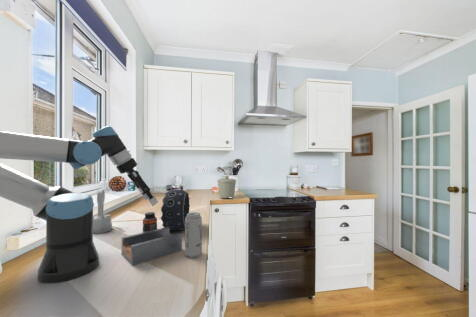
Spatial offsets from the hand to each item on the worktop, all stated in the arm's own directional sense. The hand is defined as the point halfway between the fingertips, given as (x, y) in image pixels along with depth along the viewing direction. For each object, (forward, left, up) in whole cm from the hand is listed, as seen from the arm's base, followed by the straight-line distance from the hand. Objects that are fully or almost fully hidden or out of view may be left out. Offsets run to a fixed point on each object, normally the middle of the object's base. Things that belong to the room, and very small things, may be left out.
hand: (151, 201), depth 97 cm
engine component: (-14, +29, -17) cm, 36 cm away
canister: (+92, +54, -17) cm, 108 cm away
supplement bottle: (-1, -1, -17) cm, 17 cm away
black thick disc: (+13, +2, -17) cm, 21 cm away
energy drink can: (+4, -29, -17) cm, 34 cm away
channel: (-6, -16, -16) cm, 24 cm away
